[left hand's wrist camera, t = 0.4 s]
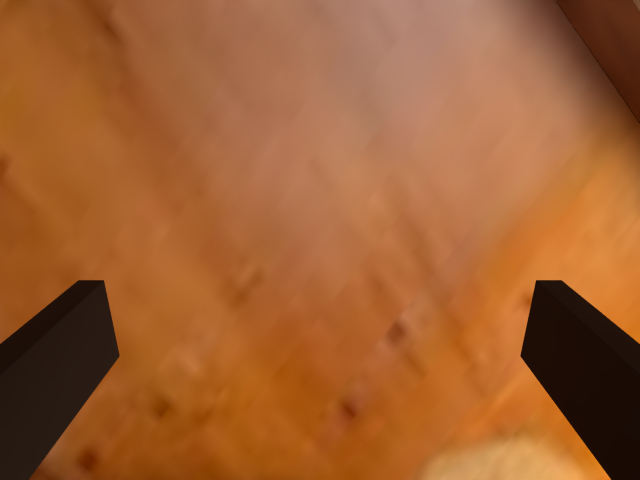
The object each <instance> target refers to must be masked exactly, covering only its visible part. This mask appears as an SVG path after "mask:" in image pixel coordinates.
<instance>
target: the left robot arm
mask: <svg viewBox="0 0 640 480" xmlns="http://www.w3.org/2000/svg"><path fill="white" fill-rule="evenodd" d="M118 358H119V351H118V346H117V341H116V337H115V332H114V327H113V322H112V317H111V313H110V308H109V303H108V298H107V293H106V288H105V284H104V280H78V281H77V282H76V283H75V284H74V285H72V286H71V287H70V288H69V289H67V290H66V291H65V292H64V293H62V294H61V295H60V296H59V297H58V298H56V299H55V300H54V301H53V302H51V303H50V304H49V305H48V306H46V307H45V308H44V309H43V310H42V311H40V312H39V313H38V314H37V315H35V316H34V317H33V318H32V319H31V320H29V321H28V322H27V323H26V324H24V325H23V326H22V327H21V328H19V329H18V330H17V331H16V332H15V333H13V334H12V335H11V336H10V337H8V338H7V339H6V340H5V341H3V342H2V343H1V344H0V480H29V478H30V477H31V476H32V474H33V473H34V472H35V470H36V469H37V468H38V466H39V465H40V464H41V462H42V461H43V459H44V458H45V457H46V455H47V454H48V453H49V451H50V450H51V449H52V447H53V446H54V445H55V443H56V442H57V440H58V439H59V438H60V436H61V435H62V434H63V432H64V431H65V430H66V428H67V427H68V425H69V424H70V423H71V421H72V420H73V419H74V417H75V416H76V415H77V413H78V412H79V411H80V409H81V408H82V406H83V405H84V404H85V402H86V401H87V400H88V398H89V397H90V396H91V394H92V393H93V392H94V390H95V389H96V387H97V386H98V385H99V383H100V382H101V381H102V379H103V378H104V377H105V375H106V374H107V373H108V371H109V370H110V368H111V367H112V366H113V364H114V363H115V362H116V360H117V359H118ZM521 358H522V359H523V360H524V362H525V363H526V364H527V366H528V367H529V368H530V370H531V371H532V373H533V374H534V375H535V377H536V378H537V379H538V381H539V382H540V383H541V385H542V386H543V387H544V389H545V390H546V392H547V393H548V394H549V396H550V397H551V398H552V400H553V401H554V402H555V404H556V405H557V406H558V408H559V409H560V411H561V412H562V413H563V415H564V416H565V417H566V419H567V420H568V421H569V423H570V424H571V425H572V427H573V428H574V430H575V431H576V432H577V434H578V435H579V436H580V438H581V439H582V440H583V442H584V443H585V445H586V446H587V447H588V449H589V450H590V451H591V453H592V454H593V455H594V457H595V458H596V459H597V461H598V462H599V464H600V465H601V466H602V468H603V469H604V470H605V472H606V473H607V474H608V476H609V477H610V478H611V480H640V344H639V343H638V342H637V341H635V340H634V339H633V338H632V337H630V336H629V335H628V334H627V333H625V332H624V331H623V330H622V329H621V328H619V327H618V326H617V325H616V324H614V323H613V322H612V321H611V320H609V319H608V318H607V317H606V316H605V315H603V314H602V313H601V312H600V311H598V310H597V309H596V308H595V307H594V306H592V305H591V304H590V303H589V302H587V301H586V300H585V299H584V298H582V297H581V296H580V295H579V294H578V293H576V292H575V291H574V290H573V289H571V288H570V287H569V286H568V285H566V284H565V283H564V282H563V281H562V280H536V284H535V288H534V293H533V298H532V303H531V308H530V313H529V317H528V322H527V327H526V332H525V337H524V341H523V346H522V351H521Z"/></svg>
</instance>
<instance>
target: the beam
mask: <svg viewBox="0 0 640 480" xmlns="http://www.w3.org/2000/svg"><path fill="white" fill-rule="evenodd" d="M556 1H557V3H558V4H559V6H560V7H561V9H562V10H563V12H564V13H565V14H566V16H567V17H568V19H569V20H570V22H571V23H572V25H573V26H574V28H575V29H576V30H577V32H578V33H579V35H580V36H581V38H582V39H583V41H584V42H585V44H586V45H587V46H588V48H589V49H590V51H591V52H592V54H593V55H594V57H595V58H596V60H597V61H598V63H599V64H600V65H601V67H602V68H603V70H604V71H605V73H606V74H607V76H608V77H609V79H610V80H611V81H612V83H613V84H614V86H615V87H616V89H617V90H618V92H619V93H620V95H621V96H622V97H623V99H624V100H625V102H626V103H627V105H628V106H629V108H630V109H631V111H632V112H633V114H634V115H635V116H636V118H637V119H638V121H639V122H640V0H556Z"/></svg>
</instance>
